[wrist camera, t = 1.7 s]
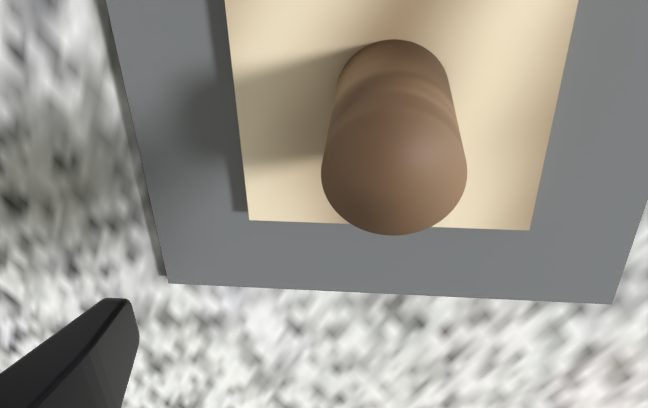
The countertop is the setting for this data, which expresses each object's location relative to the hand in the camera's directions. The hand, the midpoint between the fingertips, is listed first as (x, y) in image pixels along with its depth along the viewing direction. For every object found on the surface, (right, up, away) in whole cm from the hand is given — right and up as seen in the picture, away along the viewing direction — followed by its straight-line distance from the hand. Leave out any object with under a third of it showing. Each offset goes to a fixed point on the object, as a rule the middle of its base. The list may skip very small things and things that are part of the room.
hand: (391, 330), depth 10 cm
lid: (+1, +6, +9) cm, 11 cm away
